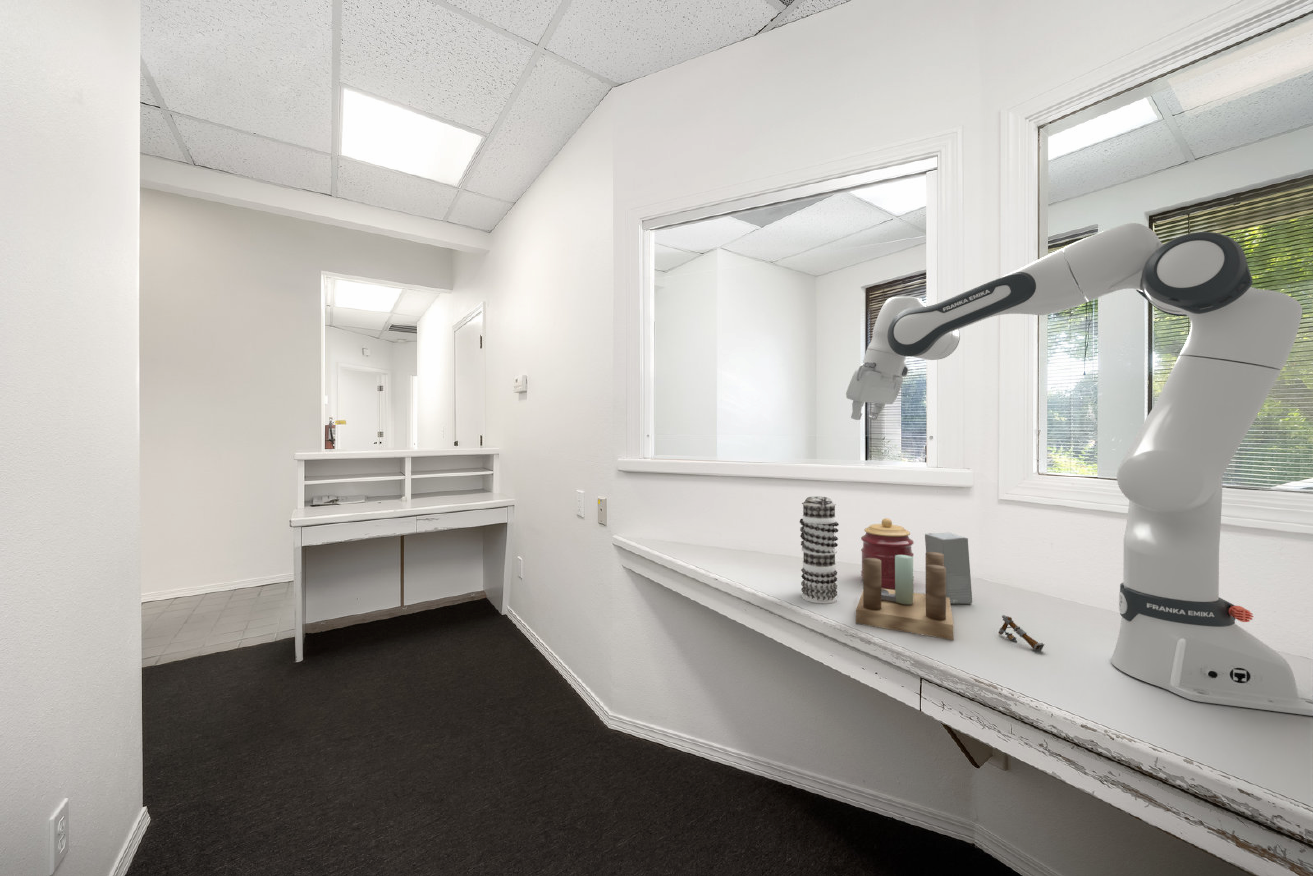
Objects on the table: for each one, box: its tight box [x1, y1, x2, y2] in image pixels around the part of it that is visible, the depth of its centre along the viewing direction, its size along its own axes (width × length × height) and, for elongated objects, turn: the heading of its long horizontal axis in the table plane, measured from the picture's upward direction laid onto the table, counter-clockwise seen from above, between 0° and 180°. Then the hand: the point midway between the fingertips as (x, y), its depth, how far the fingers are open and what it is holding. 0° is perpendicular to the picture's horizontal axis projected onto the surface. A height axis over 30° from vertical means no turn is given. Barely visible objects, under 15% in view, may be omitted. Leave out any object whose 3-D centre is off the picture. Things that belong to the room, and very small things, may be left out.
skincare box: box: [924, 532, 973, 605], centre depth 119 cm, size 8×7×16 cm
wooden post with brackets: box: [998, 614, 1045, 652], centre depth 95 cm, size 2×8×4 cm, turn 15°
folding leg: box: [881, 555, 914, 604], centre depth 109 cm, size 9×4×10 cm, turn 61°
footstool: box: [855, 551, 955, 641], centre depth 108 cm, size 18×18×13 cm
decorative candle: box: [799, 496, 839, 605], centre depth 121 cm, size 9×9×25 cm
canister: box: [860, 517, 915, 590], centre depth 132 cm, size 13×13×18 cm
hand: (864, 419), depth 120 cm, fingers open, 8 cm apart
